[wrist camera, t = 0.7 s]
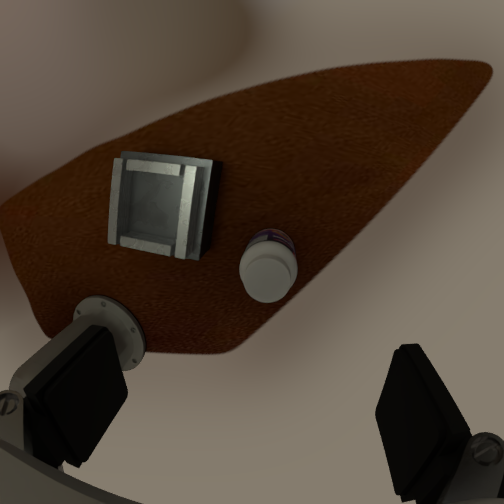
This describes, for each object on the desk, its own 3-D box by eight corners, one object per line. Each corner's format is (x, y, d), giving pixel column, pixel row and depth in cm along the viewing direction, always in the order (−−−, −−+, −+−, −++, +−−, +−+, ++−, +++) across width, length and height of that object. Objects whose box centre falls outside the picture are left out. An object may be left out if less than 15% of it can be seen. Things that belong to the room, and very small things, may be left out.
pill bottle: (303, 256, 34) (311, 289, 25) (265, 281, 35) (259, 321, 26) (276, 218, 33) (274, 237, 24) (238, 245, 34) (221, 273, 25)
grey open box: (209, 248, 35) (191, 268, 27) (133, 233, 35) (101, 248, 28) (222, 161, 32) (206, 159, 25) (142, 152, 32) (109, 150, 25)
